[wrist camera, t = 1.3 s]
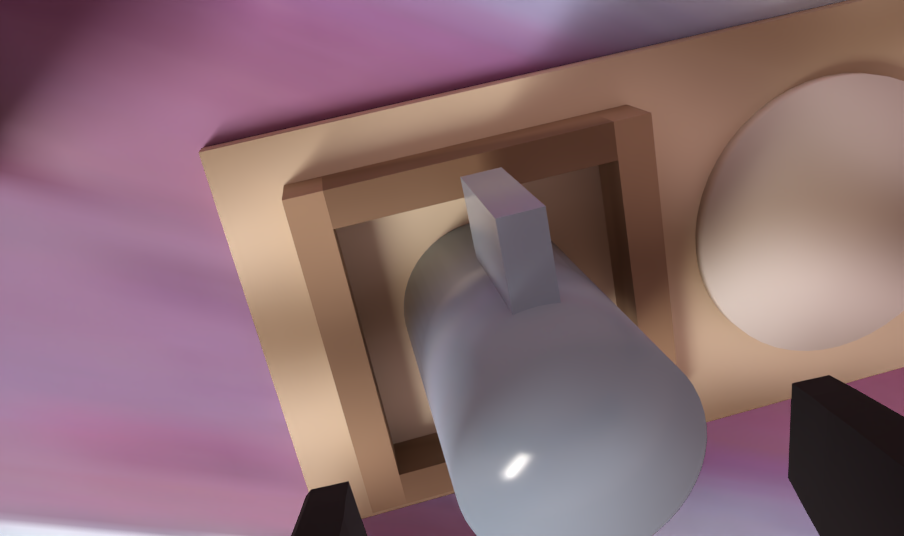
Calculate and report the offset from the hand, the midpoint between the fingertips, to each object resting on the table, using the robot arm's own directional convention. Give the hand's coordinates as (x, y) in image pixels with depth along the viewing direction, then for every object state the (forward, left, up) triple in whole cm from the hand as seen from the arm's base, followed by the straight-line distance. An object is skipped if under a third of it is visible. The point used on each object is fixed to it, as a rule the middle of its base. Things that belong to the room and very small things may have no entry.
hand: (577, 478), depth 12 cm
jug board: (-1, -5, -11) cm, 12 cm away
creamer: (-1, -1, -10) cm, 10 cm away
